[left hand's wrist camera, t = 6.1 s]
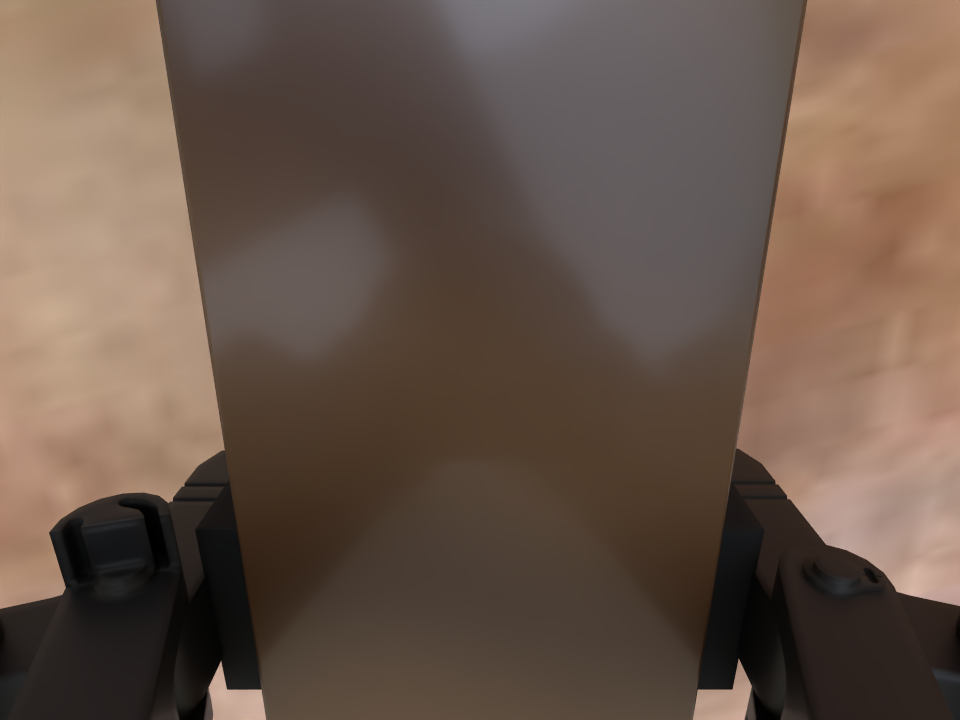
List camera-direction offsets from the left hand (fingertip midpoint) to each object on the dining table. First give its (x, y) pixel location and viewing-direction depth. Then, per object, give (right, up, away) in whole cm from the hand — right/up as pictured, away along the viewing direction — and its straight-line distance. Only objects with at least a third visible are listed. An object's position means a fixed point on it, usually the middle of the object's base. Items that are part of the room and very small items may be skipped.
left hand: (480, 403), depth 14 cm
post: (0, +34, -12) cm, 36 cm away
